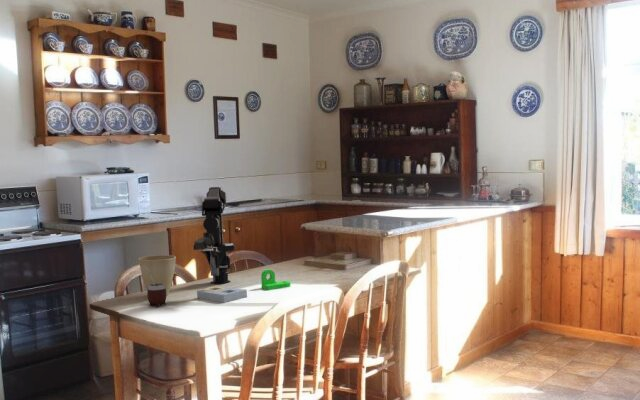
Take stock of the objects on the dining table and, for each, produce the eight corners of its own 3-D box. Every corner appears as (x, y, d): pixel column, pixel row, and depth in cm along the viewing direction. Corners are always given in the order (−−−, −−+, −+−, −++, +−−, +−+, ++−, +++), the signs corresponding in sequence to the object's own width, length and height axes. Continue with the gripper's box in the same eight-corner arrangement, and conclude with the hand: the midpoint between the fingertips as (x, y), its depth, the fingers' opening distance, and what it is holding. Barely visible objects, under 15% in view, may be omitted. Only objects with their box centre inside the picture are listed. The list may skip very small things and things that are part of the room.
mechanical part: (268, 290, 275) (267, 271, 274) (261, 288, 280) (261, 270, 280) (293, 287, 281) (292, 268, 281) (286, 285, 286) (285, 266, 286)
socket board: (197, 298, 263) (196, 290, 263) (219, 292, 272) (219, 285, 272) (224, 302, 253) (224, 294, 253) (246, 297, 262) (246, 289, 262)
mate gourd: (167, 306, 250) (165, 267, 249) (145, 308, 248) (144, 268, 247) (166, 302, 257) (164, 264, 256) (145, 304, 255) (143, 266, 254)
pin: (209, 275, 265) (208, 250, 265) (215, 274, 268) (214, 250, 267) (214, 276, 263) (213, 251, 263) (220, 275, 266) (219, 250, 265)
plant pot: (158, 301, 260) (156, 261, 259) (132, 297, 268) (130, 259, 267) (185, 293, 273) (183, 255, 272) (159, 291, 281) (158, 254, 280)
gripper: (182, 230, 264) (183, 269, 265) (213, 231, 253) (215, 272, 253) (203, 228, 273) (205, 265, 274) (234, 229, 261) (236, 268, 262)
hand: (214, 267), depth 265 cm, fingers closed on pin, 3 cm apart
